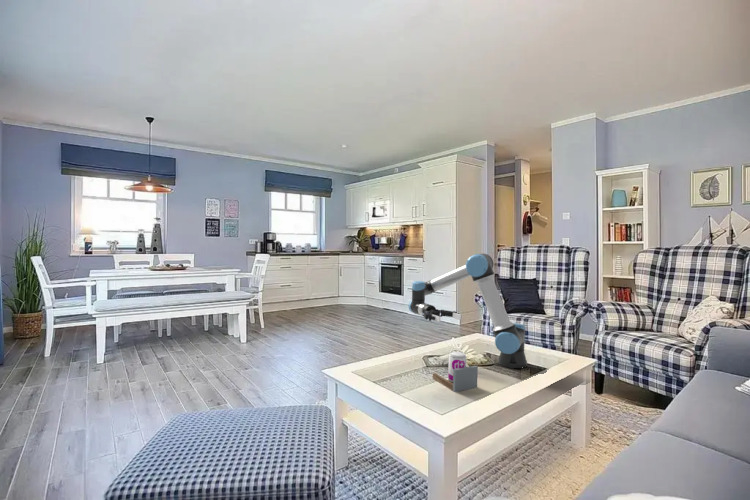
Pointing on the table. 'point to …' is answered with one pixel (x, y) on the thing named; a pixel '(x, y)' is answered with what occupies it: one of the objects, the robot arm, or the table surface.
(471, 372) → the block
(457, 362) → the supplement can
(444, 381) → the channel
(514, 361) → the robot arm
